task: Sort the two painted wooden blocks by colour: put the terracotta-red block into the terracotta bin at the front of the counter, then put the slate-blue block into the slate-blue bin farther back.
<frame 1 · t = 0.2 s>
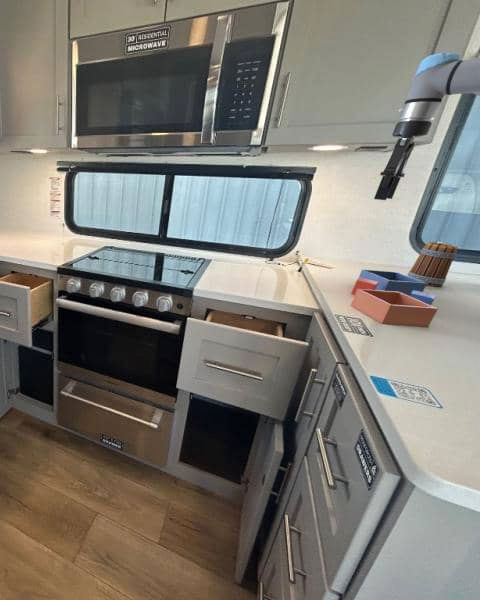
hand: (383, 199, 101), 30 cm above the countertop, tool pointing down, fingers open, 13 cm apart
terracotta bin: (387, 315, 94), on the countertop
blue bin: (386, 290, 115), on the countertop
red block: (361, 294, 110), on the countertop
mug: (422, 281, 130), on the countertop
blue block: (415, 309, 100), on the countertop
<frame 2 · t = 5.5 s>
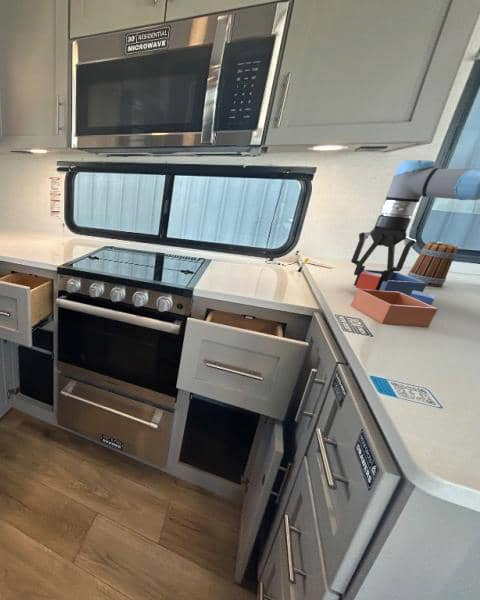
hand: (366, 287, 108), 3 cm above the countertop, tool pointing down, fingers closed on red block, 5 cm apart
red block: (366, 288, 108), point 3 cm above the countertop, touching gripper
everything else where it was.
when the fingers open (2 cm above the countertop, at t = 10.3 s): red block stays where it is, resting on terracotta bin.
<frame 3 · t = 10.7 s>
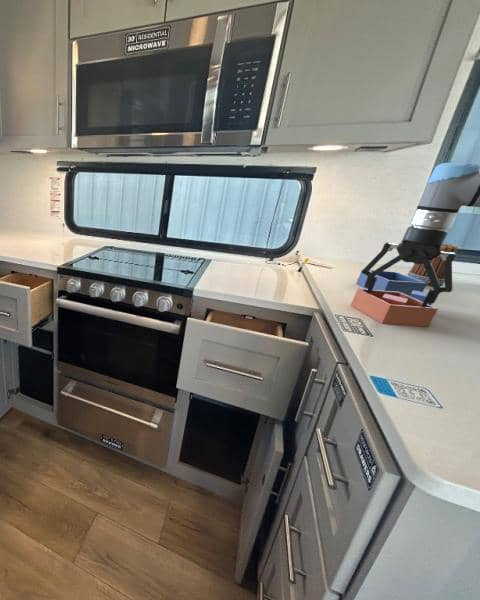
hand: (391, 305, 93), 3 cm above the countertop, tool pointing down, fingers open, 11 cm apart
red block: (387, 314, 94), resting on terracotta bin
everything else where it was.
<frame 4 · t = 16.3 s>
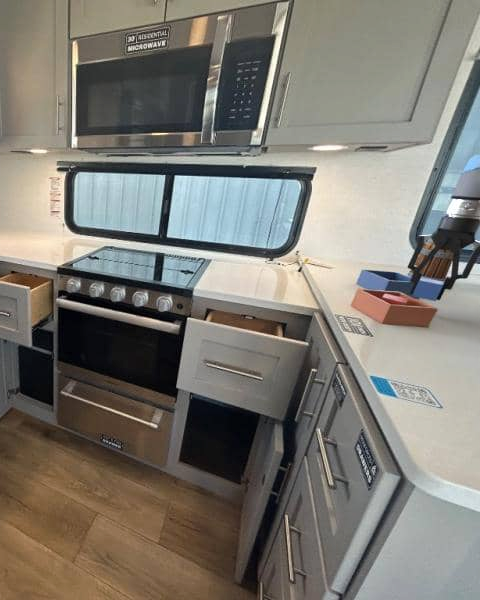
hand: (424, 295, 98), 5 cm above the countertop, tool pointing down, fingers closed on blue block, 5 cm apart
blue block: (424, 296, 98), point 4 cm above the countertop, touching gripper
everything else where it was.
when the fingers open (3 cm above the countertop, at t = 21.4 s): blue block stays where it is, resting on blue bin.
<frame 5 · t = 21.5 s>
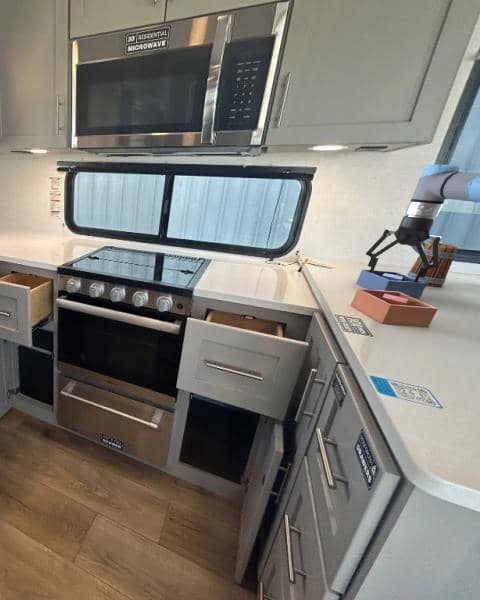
hand: (390, 280, 114), 4 cm above the countertop, tool pointing down, fingers open, 11 cm apart
blue block: (386, 289, 115), resting on blue bin
everything else where it was.
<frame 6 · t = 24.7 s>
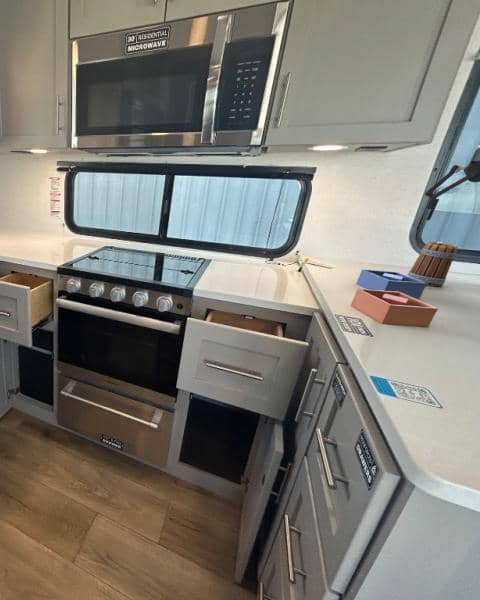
hand: (458, 223, 101), 25 cm above the countertop, tool pointing down, fingers open, 13 cm apart
nothing on the countertop moved.
at the end: red block inside the target area in the terracotta bin (0.0 cm from its centre), point 0.5 cm above the terracotta bin's base; blue block inside the target area in the blue bin (0.0 cm from its centre), point 0.5 cm above the blue bin's base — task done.
